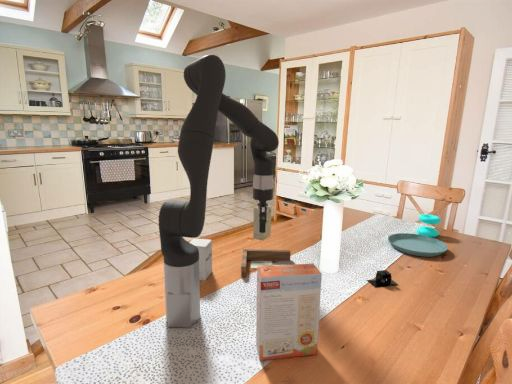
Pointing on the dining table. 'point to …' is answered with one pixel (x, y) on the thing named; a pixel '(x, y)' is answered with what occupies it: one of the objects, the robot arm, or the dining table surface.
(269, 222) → the skincare box
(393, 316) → the dining table surface
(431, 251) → the saucer
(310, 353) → the cracker box
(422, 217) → the donuts
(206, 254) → the supplement box
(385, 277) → the black tapered holder
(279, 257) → the wooden corner frame
